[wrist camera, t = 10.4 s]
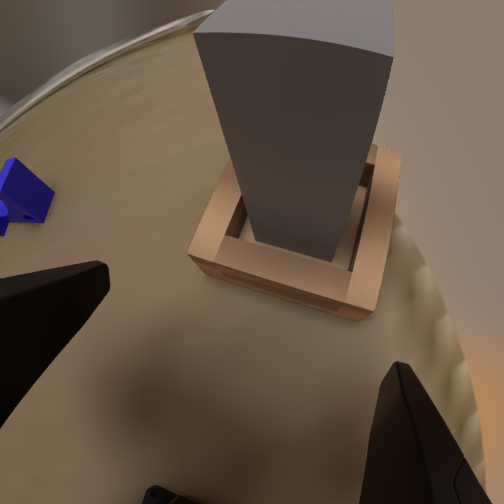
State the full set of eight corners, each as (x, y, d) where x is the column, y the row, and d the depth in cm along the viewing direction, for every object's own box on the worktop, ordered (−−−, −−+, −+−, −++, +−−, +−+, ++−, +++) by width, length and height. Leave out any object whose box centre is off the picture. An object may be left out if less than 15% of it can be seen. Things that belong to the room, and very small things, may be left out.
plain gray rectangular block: (331, 262, 17) (393, 57, 5) (255, 240, 18) (192, 32, 6) (348, 195, 18) (392, -7, 6) (278, 177, 19) (255, -24, 7)
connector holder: (358, 321, 16) (374, 311, 13) (204, 273, 19) (186, 253, 15) (387, 184, 19) (401, 153, 16) (256, 150, 21) (250, 116, 18)
